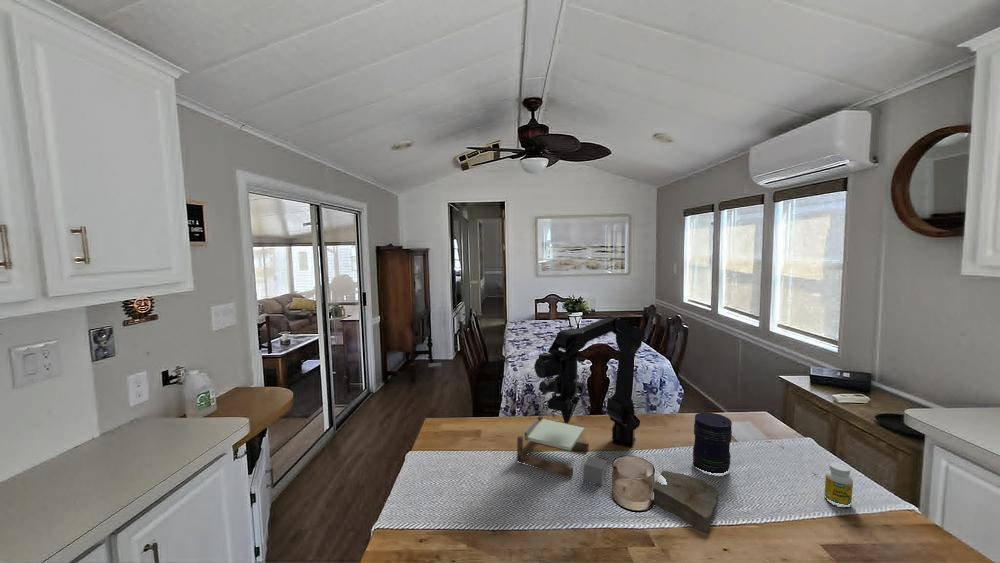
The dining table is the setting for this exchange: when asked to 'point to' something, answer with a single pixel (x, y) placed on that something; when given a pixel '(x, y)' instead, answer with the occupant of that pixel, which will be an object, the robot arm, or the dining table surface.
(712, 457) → the storage jar
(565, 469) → the frame
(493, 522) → the dining table surface
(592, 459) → the gray cube
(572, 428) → the trapdoor
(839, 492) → the supplement bottle
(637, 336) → the robot arm
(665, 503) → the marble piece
